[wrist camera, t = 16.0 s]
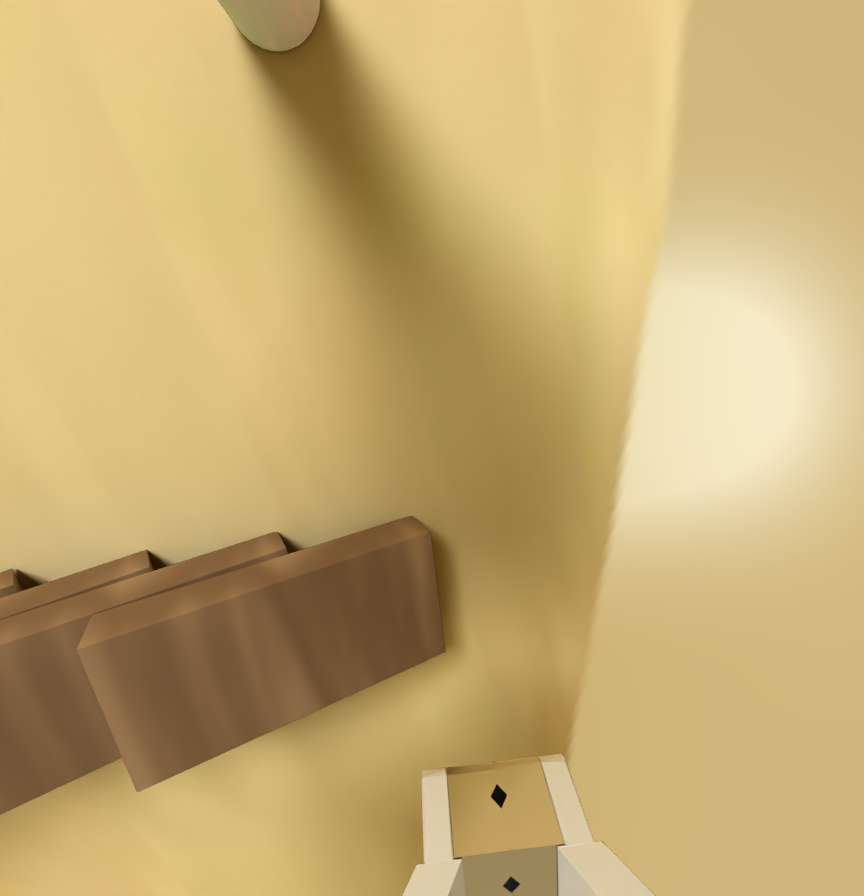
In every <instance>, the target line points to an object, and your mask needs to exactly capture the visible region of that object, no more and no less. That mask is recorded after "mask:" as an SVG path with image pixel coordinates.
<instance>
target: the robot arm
mask: <svg viewBox="0 0 864 896" xmlns="http://www.w3.org/2000/svg"><path fill="white" fill-rule="evenodd" d="M422 811H423V847H424V863H422V864H416V867H415V869H414V871H413V873H412V875H411V877H410V879H409V882H408V884H407V886H406V888H405V890H404V892H403V894H402V896H655V895H654V894H653V893H652V892H651V891H650V890H649V889H648V888H647V887H646V886H645V885H644V883H642V881H640V880H639V878H638V877H637V876H636V875H635V874H634V873H633V872H632V871H631V870H630V869H629V868H628V867H627V866H626V865H625V864H624V863H623V862H622V861H621V860H620V859H619V858H618V857H617V856H616V855H615V854H614V853H613V852H612V851H611V850H610V849H609V848H608V847H607V846H606V845H605V843H604V842H603V841H594V839H593V836H592V833H591V830H590V828H589V825H588V822H587V819H586V816H585V814H584V811H583V808H582V805H581V802H580V800H579V797H578V794H577V791H576V788H575V786H574V782H573V780H572V777H571V774H570V771H569V768H568V766H567V763H566V760H565V758H564V757H563V755H562V754H560V753H559V754H553V755H546V756H539V757H537V756H532V757H525V758H518V759H511V760H504V761H497V762H492V763H488V764H478V765H468V766H458V767H449V768H447V771H446V768H438V769H430V770H423V771H422Z"/></svg>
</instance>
